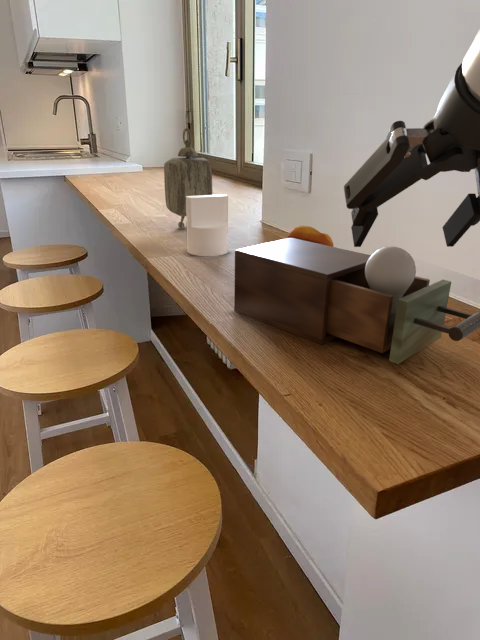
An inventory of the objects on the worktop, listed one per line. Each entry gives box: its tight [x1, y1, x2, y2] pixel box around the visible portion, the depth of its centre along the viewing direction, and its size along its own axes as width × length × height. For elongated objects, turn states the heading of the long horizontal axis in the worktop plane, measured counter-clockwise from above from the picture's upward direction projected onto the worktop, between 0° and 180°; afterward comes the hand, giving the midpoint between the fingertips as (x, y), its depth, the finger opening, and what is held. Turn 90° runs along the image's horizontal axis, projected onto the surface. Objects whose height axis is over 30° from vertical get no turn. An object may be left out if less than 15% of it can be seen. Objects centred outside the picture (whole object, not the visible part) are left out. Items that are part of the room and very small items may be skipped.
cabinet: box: [233, 237, 372, 346], centre depth 73 cm, size 17×13×10 cm
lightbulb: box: [365, 245, 417, 328], centre depth 63 cm, size 6×6×11 cm
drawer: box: [326, 268, 480, 365], centre depth 63 cm, size 21×11×8 cm, turn 44°
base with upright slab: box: [186, 193, 229, 257], centre depth 108 cm, size 9×9×12 cm
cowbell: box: [163, 127, 213, 229], centre depth 129 cm, size 14×9×25 cm, turn 22°
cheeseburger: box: [286, 225, 335, 247], centre depth 94 cm, size 10×11×10 cm
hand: (402, 236), depth 59 cm, fingers open, 10 cm apart
